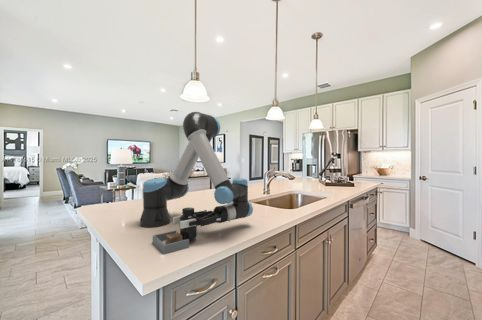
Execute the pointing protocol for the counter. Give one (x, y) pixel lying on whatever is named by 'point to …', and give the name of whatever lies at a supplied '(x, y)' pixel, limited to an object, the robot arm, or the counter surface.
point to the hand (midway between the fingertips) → (176, 222)
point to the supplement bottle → (189, 231)
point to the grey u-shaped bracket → (169, 247)
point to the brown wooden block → (173, 238)
